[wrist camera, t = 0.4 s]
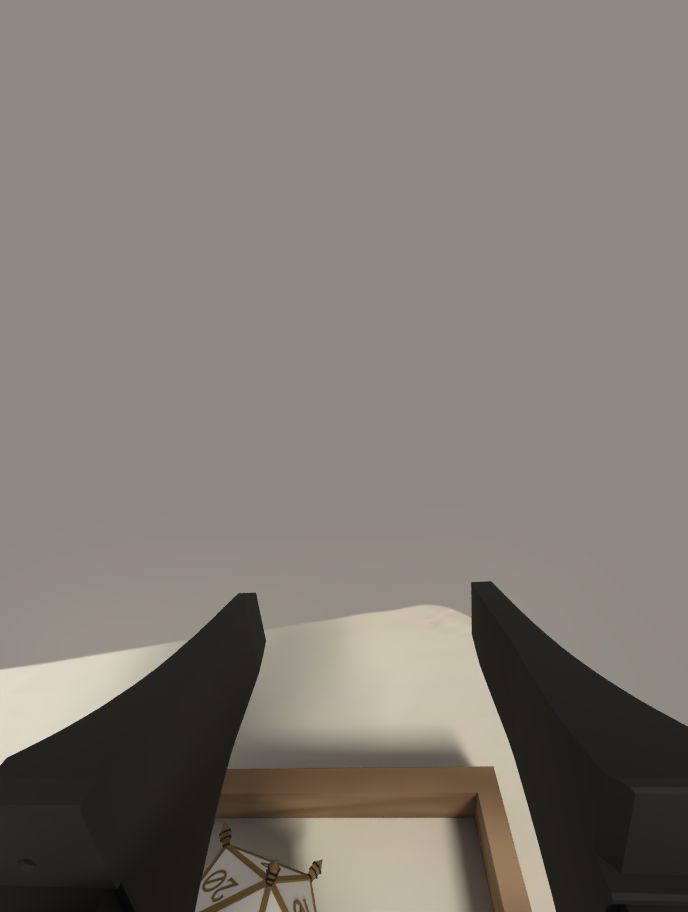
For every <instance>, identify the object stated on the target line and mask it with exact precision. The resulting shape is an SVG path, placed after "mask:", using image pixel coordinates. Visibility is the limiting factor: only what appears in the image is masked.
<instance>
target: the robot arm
mask: <svg viewBox="0 0 688 912" xmlns="http://www.w3.org/2000/svg"><path fill="white" fill-rule="evenodd" d="M471 589H472V590H471V594H472V636H473V640H474V644H475V648H476V652H477V656H478V660H479V663H480V667H481V669H482V672H483V675H484V677H485V680H486V683H487V685H488V688H489V691H490V693H491V696H492V698H493V701H494V704H495V706H496V709H497V711H498V714H499V717H500V719H501V722H502V724H503V727H504V730H505V732H506V735H507V737H508V740H509V743H510V746H511V749H512V752H513V755H514V758H515V761H516V765H517V768H518V772H519V775H520V779H521V782H522V786H523V789H524V793H525V796H526V800H527V803H528V807H529V811H530V814H531V818H532V822H533V825H534V829H535V832H536V836H537V840H538V843H539V847H540V851H541V855H542V859H543V862H544V866H545V870H546V874H547V878H548V881H549V885H550V889H551V893H552V897H553V901H554V905H555V909H556V912H688V726H686V725H684V724H682V723H680V722H678V721H676V720H675V719H673V718H671V717H669V716H667V715H665V714H663V713H662V712H660V711H658V710H656V709H654V708H652V707H651V706H649V705H647V704H645V703H644V702H642V701H640V700H638V699H637V698H635V697H633V696H632V695H630V694H629V693H627V692H626V691H624V690H622V689H621V688H619V687H618V686H616V685H614V684H613V683H611V682H610V681H608V680H606V679H605V678H604V677H602V676H600V675H599V674H597V673H596V672H595V671H593V670H592V669H590V668H589V667H588V666H586V665H585V664H583V663H582V662H581V661H579V660H578V659H576V658H575V657H574V656H572V655H571V654H570V653H568V652H567V651H566V650H565V649H563V648H562V647H561V646H560V645H558V644H557V643H556V642H555V641H553V640H552V639H551V638H550V637H549V636H548V635H546V634H545V633H544V632H543V631H542V630H541V629H540V628H539V627H537V626H536V625H535V624H534V623H533V622H532V621H531V620H530V619H529V618H528V617H526V615H524V614H523V613H522V612H521V611H520V610H519V609H518V608H517V607H516V606H515V605H514V604H513V603H512V602H511V601H510V600H509V599H508V598H507V597H506V596H505V595H504V594H503V593H502V592H501V591H500V590H499V589H498V588H497V587H496V586H495V585H494V584H493V583H492V582H491V581H490V582H489V581H488V582H472V583H471ZM265 643H266V639H265V634H264V629H263V624H262V620H261V615H260V610H259V605H258V601H257V596H256V593H239V594H238V595H236V596H235V597H234V598H233V599H232V600H231V601H230V602H229V603H228V604H227V605H226V606H225V607H224V608H223V609H222V610H221V611H220V612H219V613H218V614H217V615H216V616H215V617H214V618H213V619H212V620H211V621H210V622H209V623H208V624H207V625H205V626H204V627H203V628H202V629H201V630H200V631H199V632H198V633H197V634H196V635H195V636H194V637H193V638H191V639H190V640H189V641H188V642H187V643H186V644H185V645H184V646H182V647H181V648H180V649H179V650H178V651H177V652H176V653H174V654H173V655H172V656H171V657H170V658H169V659H167V660H166V661H165V662H164V663H163V664H161V665H160V666H159V667H158V668H156V669H155V670H154V671H152V672H151V673H150V674H148V675H147V676H146V677H144V678H143V679H142V680H140V681H139V682H138V683H136V684H135V685H133V686H132V687H130V688H129V689H127V690H126V691H124V692H123V693H121V694H120V695H118V696H117V697H115V698H114V699H112V700H111V701H109V702H108V703H106V704H105V705H103V706H102V707H100V708H99V709H97V710H95V711H94V712H92V713H90V714H89V715H87V716H85V717H84V718H82V719H80V720H79V721H77V722H75V723H73V724H72V725H70V726H68V727H66V728H65V729H63V730H61V731H59V732H57V733H55V734H53V735H52V736H50V737H48V738H46V739H44V740H42V741H40V742H38V743H36V744H34V745H32V746H30V747H28V748H26V749H24V750H22V751H20V752H18V753H16V754H14V755H12V756H10V757H8V758H6V759H5V761H4V762H3V763H2V764H1V765H0V912H195V909H196V904H197V899H198V893H199V888H200V883H201V879H202V874H203V869H204V865H205V860H206V855H207V851H208V846H209V841H210V837H211V832H212V828H213V824H214V820H215V815H216V811H217V807H218V803H219V798H220V794H221V790H222V786H223V782H224V778H225V774H226V771H227V767H228V763H229V759H230V756H231V752H232V749H233V746H234V743H235V740H236V737H237V734H238V731H239V728H240V725H241V723H242V720H243V717H244V714H245V711H246V708H247V706H248V703H249V700H250V697H251V694H252V691H253V688H254V686H255V683H256V680H257V677H258V674H259V671H260V666H261V662H262V658H263V653H264V648H265Z"/></svg>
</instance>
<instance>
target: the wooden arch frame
mask: <svg viewBox="0 0 688 912" xmlns="http://www.w3.org/2000/svg"><path fill="white" fill-rule="evenodd" d="M215 818H475V821H476V826H477V831H478V836H479V841H480V845H481V850H482V855H483V860H484V865H485V869H486V874H487V879H488V884H489V889H490V894H491V898H492V903H493V908H494V912H532V910H531V906H530V902H529V899H528V895H527V891H526V887H525V884H524V880H523V876H522V872H521V869H520V865H519V861H518V857H517V854H516V850H515V846H514V842H513V838H512V835H511V831H510V827H509V823H508V820H507V816H506V812H505V808H504V805H503V801H502V797H501V793H500V790H499V786H498V782H497V778H496V774H495V771H494V767H493V766H492V767H399V768H305V769H227V771H226V774H225V778H224V782H223V786H222V790H221V794H220V798H219V803H218V807H217V811H216V815H215Z"/></svg>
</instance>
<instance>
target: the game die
mask: <svg viewBox="0 0 688 912" xmlns="http://www.w3.org/2000/svg"><path fill="white" fill-rule="evenodd" d="M230 832H231V829H229V827H228V826H227V824H226V823H224V825H223V828H222V831H221V833H220V834H219V835H220V836H221V840H220V842H222V845H223V848H222V850H221V851H220V852H219V854H218V855H217V856H216V858H215V859H214V860H213V862H212V863H211V864H210V866H209V867H208V868H207V870H206V871H205V872H204V874H203V875H202V879H201V883H200V888H199V893H198V899H197V904H196V909H195V912H316V906H315V900H314V894H313V888H312V881H313V880H314V879H315V878H316V879H317V878H318V877H317V876H318V875H319V874H321V866H322V860H323V859H322V860H319V861H316V862H315V861H314V862H313V865H312V866H311V867H310V868H309V873H308V874H305V873H303V872H300V871H297V870H295V869H292V868H290V867H287V866H285V865H282V864H279V863H278V861H277V860H275V861H272V860H269V859H266V858H264V857H261V856H259V855H256V854H253V853H251V852H248V851H246V850H243V849H240V848H238V847H235V846H233V845H230V839H231V835H230Z"/></svg>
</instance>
